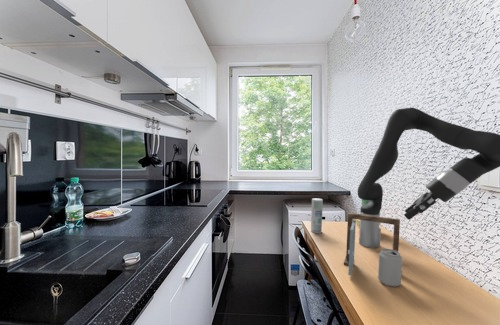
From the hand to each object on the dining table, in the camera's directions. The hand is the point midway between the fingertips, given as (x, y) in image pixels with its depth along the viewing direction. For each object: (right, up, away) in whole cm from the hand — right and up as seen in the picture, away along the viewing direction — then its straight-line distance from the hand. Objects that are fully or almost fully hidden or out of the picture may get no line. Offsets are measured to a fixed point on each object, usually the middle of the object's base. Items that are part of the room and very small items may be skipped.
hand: (406, 215), depth 85 cm
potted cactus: (+16, -24, +60) cm, 67 cm away
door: (-15, -25, +12) cm, 31 cm away
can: (-4, -27, +4) cm, 27 cm away
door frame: (-5, -26, +15) cm, 31 cm away
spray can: (-16, -24, +59) cm, 66 cm away
